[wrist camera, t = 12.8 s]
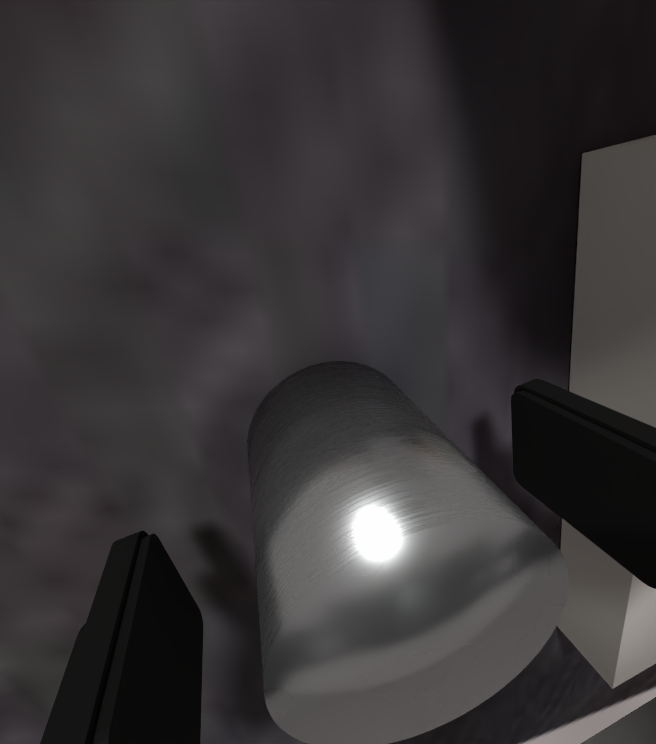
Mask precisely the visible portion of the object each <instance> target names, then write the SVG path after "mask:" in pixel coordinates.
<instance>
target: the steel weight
mask: <svg viewBox="0 0 656 744" xmlns="http://www.w3.org/2000/svg"><path fill="white" fill-rule="evenodd" d="M247 443H248V463H249V478H250V493H251V507H252V522H253V537H254V552H255V567H256V581H257V596H258V611H259V626H260V641H261V655H262V670H263V685H264V697H265V701H266V705H267V709H268V711H269V713H270V715H271V717H272V719H273V720H274V721H275V722H276V724H277V725H278V726H279V727H280V728H281V729H282V730H283V731H285V732H286V733H287V734H289V735H290V736H291V737H293V738H296V739H298V740H300V741H302V742H304V743H308V744H389V743H394V742H398V741H401V740H404V739H408V738H411V737H414V736H417V735H420V734H422V733H425V732H428V731H430V730H433V729H435V728H437V727H439V726H441V725H444V724H446V723H448V722H450V721H452V720H454V719H456V718H458V717H460V716H461V715H463V714H465V713H467V712H468V711H470V710H472V709H473V708H475V707H477V706H478V705H480V704H481V703H483V702H484V701H486V700H487V699H489V698H490V697H491V696H493V695H494V694H495V693H497V692H498V691H499V690H501V689H502V688H503V687H504V686H506V685H507V684H508V683H509V682H510V681H511V680H513V679H514V678H515V677H516V676H517V675H518V674H519V673H520V672H521V671H522V670H523V669H524V668H525V667H526V666H527V665H528V664H529V663H530V662H531V661H532V660H533V659H534V657H535V656H536V655H537V654H538V653H539V652H540V650H541V649H542V648H543V646H544V645H545V644H546V642H547V641H548V639H549V638H550V636H551V635H552V633H553V631H554V630H555V628H556V626H557V624H558V622H559V620H560V618H561V615H562V613H563V611H564V608H565V604H566V601H567V597H568V590H569V572H568V568H567V564H566V561H565V559H564V557H563V555H562V553H561V551H560V550H559V548H558V547H557V546H556V545H555V544H554V543H553V541H552V540H551V539H550V538H549V537H548V536H547V535H546V534H545V533H544V532H543V531H542V530H541V529H540V528H539V527H538V526H537V525H536V524H535V523H534V522H533V521H532V520H531V519H530V518H529V517H528V516H527V515H526V514H525V513H524V512H523V511H522V510H521V509H520V508H519V507H518V506H517V505H515V504H514V503H513V502H512V501H511V500H510V499H509V498H508V497H507V496H506V495H505V494H504V493H503V492H502V491H501V490H500V489H499V488H498V487H497V486H496V485H495V484H494V483H493V482H492V481H491V480H490V479H489V478H488V477H487V476H486V475H485V474H484V473H483V472H482V471H481V470H480V469H479V468H478V467H477V466H476V465H475V464H474V463H473V462H472V461H471V460H470V459H469V458H468V457H467V456H466V455H465V454H464V453H463V452H462V451H461V450H460V449H459V448H458V447H457V446H456V445H455V444H454V443H453V442H452V441H451V440H450V439H449V438H448V437H447V436H446V435H445V434H444V433H443V432H442V431H441V430H440V429H439V428H438V427H437V426H436V425H435V424H434V423H433V422H432V421H431V420H430V419H429V418H428V417H427V416H426V415H425V414H424V413H423V412H422V411H421V410H420V409H419V408H418V407H417V406H416V405H415V404H414V403H413V402H412V401H411V400H410V399H409V398H408V397H407V396H406V395H405V394H404V393H403V392H402V391H401V390H400V389H399V388H398V387H397V386H396V385H395V384H394V383H393V382H392V381H391V380H390V379H389V378H388V377H387V376H385V375H384V374H383V373H381V372H379V371H378V370H376V369H374V368H371V367H369V366H366V365H363V364H359V363H355V362H346V361H335V362H326V363H320V364H317V365H313V366H309V367H307V368H305V369H302V370H300V371H298V372H296V373H294V374H292V375H290V376H289V377H287V378H286V379H284V380H283V381H282V382H280V383H279V384H278V385H277V386H276V387H274V388H273V389H272V390H271V391H270V392H269V393H268V395H267V396H266V397H265V398H264V399H263V401H262V402H261V404H260V405H259V407H258V408H257V410H256V412H255V414H254V417H253V419H252V421H251V425H250V428H249V433H248V440H247Z"/></svg>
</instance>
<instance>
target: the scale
mask: <svg viewBox="0 0 656 744" xmlns="http://www.w3.org/2000/svg"><path fill="white" fill-rule="evenodd" d="M569 391H570V392H572V393H575V394H577V395H579V396H582V397H584V398H586V399H589V400H591V401H594V402H596V403H598V404H601V405H603V406H605V407H608V408H610V409H613V410H615V411H617V412H620V413H622V414H624V415H627V416H629V417H632V418H634V419H636V420H639V421H641V422H643V423H646V424H648V425H651V426H653V427H655V428H656V135H652V136H648V137H644V138H641V139H637V140H633V141H629V142H625V143H621V144H617V145H613V146H609V147H605V148H602V149H598V150H594V151H590V152H586V153H582V165H581V184H580V202H579V220H578V238H577V256H576V275H575V293H574V311H573V329H572V347H571V366H570V384H569ZM560 551H561V553H562V555H563V557H564V559H565V561H566V564H567V568H568V572H569V590H568V597H567V601H566V604H565V608H564V611H563V613H562V615H561V618H560V620H559V622H558V624H557V627H558V628H559V629H560V630H561V631H562V632H563V633H564V635H565V636H566V637H567V638H568V639H569V640H570V641H571V643H572V644H573V645H574V646H575V647H576V648H577V649H578V650H579V652H580V653H581V654H582V655H583V656H584V657H585V658H586V660H587V661H588V662H589V663H590V664H591V665H592V666H593V667H594V669H595V670H596V671H597V672H598V673H599V674H600V675H601V677H602V678H603V679H604V680H605V681H606V682H607V683H608V685H609V686H610V687H611V688H612V689H613V688H615V687H617V686H618V685H620V684H622V683H623V682H625V681H627V680H629V679H630V678H632V677H634V676H635V675H637V674H639V673H640V672H642V671H644V670H645V669H647V668H649V667H650V666H652V665H654V664H656V589H654V588H651V587H649V586H647V585H646V584H644V583H643V582H642V581H640V580H639V579H638V578H637V577H635V576H634V575H633V574H632V573H630V572H629V571H628V570H627V569H625V568H624V567H623V566H622V565H620V564H619V563H618V562H617V561H615V560H614V559H613V558H611V557H610V556H609V555H608V554H606V553H605V552H604V551H603V550H601V549H600V548H599V547H598V546H596V545H595V544H594V543H593V542H591V541H590V540H589V539H588V538H586V537H585V536H584V535H583V534H581V533H580V532H579V531H577V530H576V529H575V528H574V527H572V526H571V525H570V524H569V523H567V522H566V521H565V520H564V519H562V529H561V547H560Z"/></svg>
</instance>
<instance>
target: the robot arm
mask: <svg viewBox="0 0 656 744" xmlns="http://www.w3.org/2000/svg"><path fill="white" fill-rule="evenodd" d="M511 413H512V445H513V472H514V476H515V478H516V480H517V482H518V483H519V484H520V485H521V486H522V487H523V488H525V489H526V490H527V491H528V492H530V493H531V494H532V495H533V496H535V497H536V498H537V499H538V500H540V501H541V502H542V503H543V504H545V505H546V506H547V507H549V508H550V509H551V510H552V511H554V512H555V513H556V514H557V515H559V516H560V517H561V518H562V519H564V520H565V521H566V522H567V523H569V524H570V525H571V526H572V527H574V528H575V529H576V530H577V531H579V532H580V533H581V534H583V535H584V536H585V537H586V538H588V539H589V540H590V541H591V542H593V543H594V544H595V545H596V546H598V547H599V548H600V549H601V550H603V551H604V552H605V553H606V554H608V555H609V556H610V557H611V558H613V559H614V560H615V561H617V562H618V563H619V564H620V565H622V566H623V567H624V568H625V569H627V570H628V571H629V572H630V573H632V574H633V575H634V576H635V577H637V578H638V579H639V580H640V581H642V582H643V583H644V584H646V585H647V586H649V587H651V588H654V589H656V428H655V427H653V426H651V425H648V424H646V423H643V422H641V421H639V420H636V419H634V418H632V417H629V416H627V415H624V414H622V413H620V412H617V411H615V410H613V409H610V408H608V407H605V406H603V405H601V404H598V403H596V402H594V401H591V400H589V399H586V398H584V397H582V396H579V395H577V394H575V393H572V392H570V391H567V390H565V389H563V388H560V387H558V386H556V385H553V384H551V383H548V382H546V381H544V380H541V379H535V380H532V381H530V382H527V383H524V384H522V385H519V386H517V387H516V388H515V390H514V394H513V395H512V397H511ZM202 653H203V620H202V615H201V612H200V610H199V608H198V606H197V604H196V602H195V601H194V599H193V597H192V595H191V594H190V592H189V590H188V588H187V587H186V585H185V583H184V581H183V580H182V578H181V576H180V575H179V573H178V571H177V569H176V568H175V566H174V564H173V562H172V561H171V559H170V557H169V555H168V554H167V552H166V550H165V548H164V547H163V545H162V543H161V541H160V540H159V538H158V537H157V535H156V534H151V535H148V534H147V533H146V532H145V531H140V532H138V533H135V534H132V535H130V536H127V537H125V538H122V539H119V540H117V541H115V542H114V543H113V545H112V547H111V550H110V553H109V556H108V559H107V562H106V565H105V568H104V571H103V574H102V577H101V580H100V583H99V586H98V589H97V592H96V595H95V598H94V601H93V604H92V607H91V610H90V613H89V616H88V619H87V622H86V623H85V625H84V626H83V627H82V628H81V630H80V632H79V634H78V636H77V639H76V641H75V644H74V647H73V650H72V653H71V656H70V659H69V662H68V665H67V668H66V670H65V673H64V676H63V679H62V682H61V685H60V688H59V691H58V694H57V697H56V699H55V702H54V705H53V708H52V711H51V714H50V717H49V720H48V723H47V726H46V728H45V731H44V734H43V737H42V740H41V743H40V744H200V728H201V691H202ZM581 744H656V697H655V698H654V699H652V700H651V701H649V702H647V703H646V704H644V705H643V706H641V707H639V708H638V709H636V710H634V711H633V712H631V713H630V714H628V715H626V716H625V717H623V718H622V719H620V720H618V721H617V722H615V723H614V724H612V725H610V726H609V727H607V728H605V729H604V730H602V731H601V732H599V733H597V734H596V735H594V736H593V737H591V738H589V739H588V740H586V741H585V742H583V743H581Z"/></svg>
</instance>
